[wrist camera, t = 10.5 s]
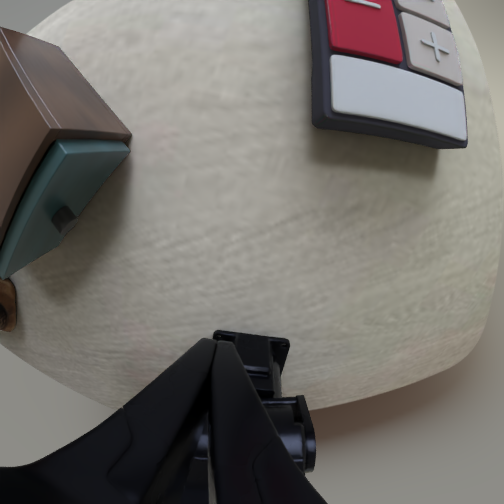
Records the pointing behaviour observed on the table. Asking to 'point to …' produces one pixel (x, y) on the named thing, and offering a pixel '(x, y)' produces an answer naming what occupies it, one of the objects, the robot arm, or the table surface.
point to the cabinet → (42, 112)
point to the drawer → (57, 197)
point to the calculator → (387, 71)
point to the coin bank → (7, 305)
